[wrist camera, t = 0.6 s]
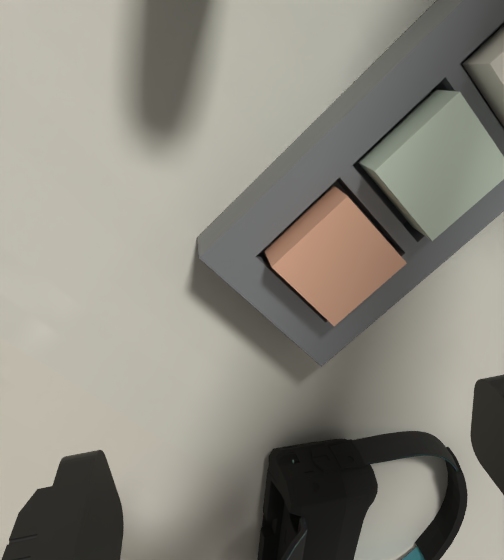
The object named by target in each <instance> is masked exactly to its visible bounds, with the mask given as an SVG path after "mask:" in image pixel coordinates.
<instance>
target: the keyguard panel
mask: <svg viewBox="0 0 504 560" xmlns="http://www.w3.org/2000/svg"><path fill="white" fill-rule="evenodd" d="M503 25H504V0H437V1H436V2H435V3H434V4H433V5H432V6H431V7H430V8H429V9H428V10H427V11H426V12H425V13H424V14H423V15H422V16H421V17H420V18H419V19H418V20H417V21H416V22H415V23H414V24H413V25H412V26H411V27H410V28H409V29H408V30H406V31H405V32H404V33H403V34H402V35H401V36H400V37H399V38H398V39H397V40H396V41H395V42H394V43H393V44H392V45H391V46H390V47H389V48H388V49H387V50H386V51H385V52H384V53H383V54H382V55H381V56H380V57H379V58H378V59H377V60H376V61H375V62H374V63H373V64H372V65H371V66H370V67H369V68H368V69H367V70H366V71H365V72H364V73H363V74H362V75H361V76H360V77H359V78H358V79H357V80H356V81H355V82H354V83H353V84H352V85H351V86H350V87H349V88H348V89H347V90H346V91H345V92H344V93H343V94H342V95H341V96H340V97H339V98H338V99H337V100H336V101H335V102H334V103H333V104H332V105H331V106H330V107H329V108H328V109H327V110H326V111H325V112H324V113H323V114H321V115H320V116H319V117H318V118H317V119H316V120H315V121H314V122H313V123H312V124H311V125H310V126H309V127H308V128H307V129H306V130H305V131H304V132H303V133H302V134H301V135H300V136H299V137H298V138H297V139H296V140H295V141H294V142H293V143H292V144H291V145H290V146H289V147H288V148H287V149H286V150H285V151H284V152H283V153H282V154H281V155H280V156H279V157H278V158H277V159H276V160H275V161H274V162H273V163H272V164H271V165H270V166H269V167H268V168H267V169H266V170H265V171H264V172H263V173H262V174H261V175H260V176H259V177H258V178H257V179H256V180H255V181H254V182H253V183H252V184H251V185H250V186H249V187H248V188H247V189H246V190H245V191H244V192H243V193H242V194H241V195H240V196H239V197H238V198H236V199H235V200H234V201H233V202H232V203H231V204H230V205H229V206H228V207H227V208H226V209H225V210H224V211H223V212H222V213H221V214H220V215H219V216H218V217H217V218H216V219H215V220H214V221H213V222H212V223H211V224H210V225H209V226H208V227H207V228H206V229H205V230H204V231H203V232H202V233H201V234H200V235H199V236H198V237H197V242H198V253H199V259H200V260H202V261H203V262H204V263H205V264H206V265H207V266H208V267H210V268H211V269H212V270H213V271H214V272H215V273H216V274H217V275H219V276H220V277H221V278H222V279H223V280H224V281H225V282H226V283H228V284H229V285H230V286H231V287H232V288H233V289H234V290H235V291H237V292H238V293H239V294H240V295H241V296H242V297H243V298H245V299H246V300H247V301H248V302H249V303H250V304H251V305H252V306H254V307H255V308H256V309H257V310H258V311H259V312H260V313H261V314H263V315H264V316H265V317H266V318H267V319H268V320H269V321H271V322H272V323H273V324H274V325H275V326H276V327H277V328H278V329H280V330H281V331H282V332H283V333H284V334H285V335H286V336H287V337H289V338H290V339H291V340H292V341H293V342H294V343H295V344H296V345H298V346H299V347H300V348H301V349H302V350H303V351H304V352H306V353H307V354H308V355H309V356H310V357H311V358H312V359H313V360H315V361H316V362H317V363H318V364H319V365H320V366H321V367H322V366H323V365H324V364H325V363H326V362H327V361H329V360H330V359H331V358H332V357H333V356H334V355H336V354H337V353H338V352H339V351H340V350H342V349H343V348H344V347H345V346H346V345H347V344H349V343H350V342H351V341H352V340H353V339H354V338H356V337H357V336H358V335H359V334H360V333H361V332H363V331H364V330H365V329H366V328H367V327H368V326H370V325H371V324H372V323H373V322H374V321H375V320H377V319H378V318H379V317H380V316H381V315H383V314H384V313H385V312H386V311H387V310H388V309H390V308H391V307H392V306H393V305H394V304H395V303H397V302H398V301H399V300H400V299H401V298H402V297H404V296H405V295H406V294H407V293H408V292H409V291H411V290H412V289H413V288H414V287H415V286H416V285H418V284H419V283H420V282H421V281H422V280H424V279H425V278H426V277H427V276H428V275H429V274H431V273H432V272H433V271H434V270H435V269H436V268H438V267H439V266H440V265H441V264H442V263H443V262H445V261H446V260H447V259H448V258H449V257H450V256H452V255H453V254H454V253H455V252H456V251H457V250H459V249H460V248H461V247H462V246H463V245H465V244H466V243H467V242H468V241H469V240H470V239H472V238H473V237H474V236H475V235H476V234H477V233H479V232H480V231H481V230H482V229H483V228H484V227H486V226H487V225H488V224H489V223H490V222H491V221H493V220H494V219H495V218H496V217H497V216H498V215H500V214H501V213H502V212H503V211H504V179H503V180H502V181H501V182H500V183H499V184H498V185H496V186H495V187H494V188H493V189H492V190H491V191H490V192H488V193H487V194H486V195H485V196H484V197H483V198H482V199H480V200H479V201H478V202H477V203H476V204H475V205H473V206H472V207H471V208H470V209H469V210H468V211H467V212H465V213H464V214H463V215H462V216H461V217H460V218H459V219H457V220H456V221H455V222H454V223H453V224H452V225H450V226H449V227H448V228H447V229H446V230H445V231H444V232H442V233H441V234H440V235H439V236H438V237H437V238H435V239H434V240H433V241H432V240H430V239H429V238H427V237H426V236H425V235H423V234H422V233H420V232H419V231H417V230H416V229H414V228H413V227H412V226H411V225H410V224H409V222H408V221H407V220H406V219H405V218H404V216H403V215H402V214H401V213H400V212H399V210H398V209H397V208H396V207H395V206H394V204H393V203H392V202H391V201H390V200H389V199H388V197H387V196H386V195H385V194H384V193H383V191H382V190H381V189H380V188H379V187H378V185H377V184H376V183H375V182H374V181H373V179H372V178H371V177H370V176H369V175H368V174H367V172H366V171H365V170H364V169H363V168H362V166H361V165H360V164H359V163H358V162H359V161H360V160H361V159H362V158H363V157H364V156H365V155H366V154H367V153H368V152H370V151H371V150H372V149H373V148H374V147H375V146H376V145H377V144H378V143H379V142H380V141H381V140H382V139H383V138H384V137H385V136H386V135H388V134H389V133H390V132H391V131H392V130H393V129H394V128H395V127H396V126H397V125H398V124H399V123H400V122H401V121H402V120H403V119H405V118H406V117H407V116H408V115H409V114H410V113H411V112H412V111H413V110H414V109H415V108H416V107H417V106H418V105H419V104H420V103H421V102H423V101H424V100H425V99H426V98H427V97H428V96H429V95H430V94H431V93H432V92H433V91H434V90H445V91H457V92H460V93H461V94H462V96H463V97H464V99H465V100H466V102H467V103H468V105H469V106H470V107H471V109H472V110H473V112H474V113H475V115H476V116H477V118H478V119H479V121H480V122H481V124H482V125H483V127H484V128H485V130H486V131H487V133H488V134H489V136H490V137H491V139H492V140H493V141H494V143H495V144H496V146H497V147H498V149H499V150H500V152H501V153H502V155H503V156H504V127H503V126H502V124H501V123H500V121H499V119H498V118H497V116H496V115H495V113H494V112H493V110H492V109H491V107H490V106H489V104H488V103H487V101H486V100H485V98H484V97H483V95H482V94H481V92H480V91H479V89H478V88H477V86H476V84H475V83H474V81H473V80H472V78H471V77H470V75H469V74H468V72H467V71H466V69H465V68H464V66H463V65H462V64H463V63H464V62H465V61H466V60H467V59H468V58H469V57H470V56H471V55H472V54H473V53H474V52H475V51H477V50H478V49H479V48H480V47H481V46H482V45H483V44H484V43H485V42H486V41H487V40H488V39H489V38H490V37H491V36H492V35H493V34H495V33H496V32H497V31H498V30H499V29H500V28H501V27H502V26H503ZM332 186H335V187H337V188H338V189H339V190H340V191H342V192H343V193H344V194H346V195H347V196H348V197H349V198H350V199H351V200H352V201H353V203H354V204H355V205H356V206H357V207H358V208H359V209H360V211H361V212H362V213H363V214H364V215H365V216H366V217H367V218H368V220H369V221H370V222H371V223H372V224H373V225H374V226H375V228H376V229H377V230H378V231H379V232H380V233H381V234H382V235H383V237H384V238H385V239H386V240H387V241H388V242H389V243H390V245H391V246H392V247H393V248H394V249H395V250H396V251H397V252H398V254H399V255H400V256H401V257H402V258H403V259H404V260H405V262H406V263H407V264H406V265H404V266H403V267H402V268H401V269H400V270H399V271H398V272H396V273H395V274H394V275H393V276H392V277H391V278H389V279H388V280H387V281H386V282H385V283H384V284H383V285H381V286H380V287H379V288H378V289H377V290H376V291H375V292H373V293H372V294H371V295H370V296H369V297H368V298H366V299H365V300H364V301H363V302H362V303H361V304H360V305H358V306H357V307H356V308H355V309H354V310H353V311H352V312H350V313H349V314H348V315H347V316H346V317H345V318H343V319H342V320H341V321H340V322H339V323H338V324H337V325H335V326H333V325H332V324H331V323H330V322H329V321H328V320H327V319H326V318H325V317H324V316H323V315H321V314H320V313H319V312H318V311H317V310H316V309H315V308H314V307H313V306H312V305H311V304H310V303H309V302H308V301H307V300H306V299H305V298H304V297H303V296H301V295H300V294H299V293H298V292H297V291H296V290H295V289H294V288H293V287H292V286H291V285H290V284H289V283H288V282H287V281H286V280H285V279H284V278H283V277H281V276H280V275H279V274H278V273H277V272H276V271H275V270H274V269H273V268H272V267H271V265H270V262H269V260H268V258H267V256H266V254H265V250H266V249H267V248H268V247H269V246H270V245H271V244H272V243H273V242H274V241H275V240H276V239H277V238H278V237H280V236H281V235H282V234H283V233H284V232H285V231H286V230H287V229H288V228H289V227H290V226H291V225H292V224H293V223H294V222H295V221H296V220H298V219H299V218H300V217H301V216H302V215H303V214H304V213H305V212H306V211H307V210H308V209H309V208H310V207H311V206H312V205H313V204H314V203H316V202H317V201H318V200H319V199H320V198H321V197H322V196H323V195H324V194H325V193H326V192H327V191H328V190H329V189H330V188H331V187H332Z"/></svg>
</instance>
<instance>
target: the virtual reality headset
mask: <svg viewBox="0 0 504 560" xmlns="http://www.w3.org/2000/svg"><path fill="white" fill-rule="evenodd" d="M414 456H437V457H441V458H443V459H445V461H446V466H447V471H448V486H447V491H446V495H445V499H444V501H443V503H442V506H441V508H440V510H439V512H438V513H437V515H436V517H435V518H434V520H433V521H432V522H431V524H430V525H429V526H428V527H427V528H426V530H425V531H424V532H423V534H422V535H421V536H420V538H419V539H418V540H417V541H416V545H417V546H416V547H415V548H414V549H413V550H412V551H411V552H410V553H409V554H408V555H407V556H405V557H404V558H403V559H402V560H440V558H441V557H442V556H443V555H444V553H445V552H446V550H447V549H448V548H449V546H450V545H451V544H452V542H453V540H454V538H455V537H456V535H457V533H458V531H459V529H460V526H461V524H462V521H463V519H464V515H465V511H466V507H467V488H466V482H465V478H464V475H463V472H462V470H461V468H460V465H459V463H458V460H457V459H456V457H455V455H454V454H453V452H452V451H451V450H450V448H449V447H445V446H444V444H443V443H442V442H441V441H440V440H439V439H438V438H436V437H435V436H433V435H431V434H429V433H425V432H419V431H406V432H396V433H389V434H382V435H377V436H372V437H367V438H362V439H357V440H346V439H333V440H327V441H322V442H312V443H306V444H300V445H294V446H288V447H282V448H276V449H273V451H272V453H271V455H270V456H269V468H268V472H267V481H266V489H265V498H264V507H263V513H264V516H263V524H262V528H261V534H260V543H259V552H258V560H354V555H355V551H356V547H357V543H358V539H359V535H360V532H361V528H362V524H363V520H364V517H365V515H366V512H367V510H368V509H369V507H370V505H371V504H372V503H373V501H374V499H375V497H376V494H377V488H378V484H377V481H376V478H375V474H374V471H373V469H372V467H371V465H370V464H373V463H380V462H385V461H391V460H396V459H401V458H407V457H414Z"/></svg>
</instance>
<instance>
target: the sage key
mask: <svg viewBox="0 0 504 560" xmlns="http://www.w3.org/2000/svg"><path fill="white" fill-rule="evenodd" d="M358 163H359V164H360V165H361V166H362V168H363V169H364V170H365V171H366V172H367V174H368V175H369V176H370V177H371V178H372V179H373V181H374V182H375V183H376V184H377V185H378V187H379V188H380V189H381V190H382V191H383V193H384V194H385V195H386V196H387V197H388V199H389V200H390V201H391V202H392V203H393V204H394V206H395V207H396V208H397V209H398V210H399V212H400V213H401V214H402V215H403V216H404V218H405V219H406V220H407V221H408V222H409V224H410V225H411V226H412V227H413V228H414V229H416V230H417V231H419V232H420V233H422V234H423V235H425V236H426V237H427V238H429V239H430V240H432V241H433V240H434V239H435V238H437V237H438V236H439V235H440V234H441V233H442V232H444V231H445V230H446V229H447V228H448V227H449V226H450V225H452V224H453V223H454V222H455V221H456V220H457V219H459V218H460V217H461V216H462V215H463V214H464V213H465V212H467V211H468V210H469V209H470V208H471V207H472V206H473V205H475V204H476V203H477V202H478V201H479V200H480V199H482V198H483V197H484V196H485V195H486V194H487V193H488V192H490V191H491V190H492V189H493V188H494V187H495V186H496V185H498V184H499V183H500V182H501V181H502V180H503V179H504V156H503V155H502V153H501V152H500V150H499V149H498V147H497V146H496V144H495V143H494V141H493V140H492V139H491V137H490V136H489V134H488V133H487V131H486V130H485V128H484V127H483V125H482V124H481V122H480V121H479V119H478V118H477V116H476V115H475V113H474V112H473V110H472V109H471V107H470V106H469V105H468V103H467V102H466V100H465V99H464V97H463V96H462V94H461V93H460V92H457V91H445V90H434V91H433V92H432V93H431V94H430V95H429V96H428V97H427V98H426V99H425V100H424V101H423V102H421V103H420V104H419V105H418V106H417V107H416V108H415V109H414V110H413V111H412V112H411V113H410V114H409V115H408V116H407V117H406V118H405V119H403V120H402V121H401V122H400V123H399V124H398V125H397V126H396V127H395V128H394V129H393V130H392V131H391V132H390V133H389V134H388V135H386V136H385V137H384V138H383V139H382V140H381V141H380V142H379V143H378V144H377V145H376V146H375V147H374V148H373V149H372V150H371V151H370V152H368V153H367V154H366V155H365V156H364V157H363V158H362V159H361V160H360V161H359V162H358Z"/></svg>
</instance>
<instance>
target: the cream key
mask: <svg viewBox="0 0 504 560" xmlns="http://www.w3.org/2000/svg"><path fill="white" fill-rule="evenodd" d="M462 65H463V66H464V68H465V69H466V71H467V72H468V74H469V75H470V77H471V78H472V80H473V81H474V83H475V84H476V86H477V88H478V89H479V91H480V92H481V94H482V95H483V97H484V98H485V100H486V101H487V103H488V104H489V106H490V107H491V109H492V110H493V112H494V113H495V115H496V116H497V118H498V119H499V121H500V123H501V124H502V126H503V127H504V25H503V26H502V27H501V28H500V29H499V30H498V31H497V32H496V33H495V34H493V35H492V36H491V37H490V38H489V39H488V40H487V41H486V42H485V43H484V44H483V45H482V46H481V47H480V48H479V49H478V50H477V51H475V52H474V53H473V54H472V55H471V56H470V57H469V58H468V59H467V60H466V61H465V62H464V63H463V64H462Z"/></svg>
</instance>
